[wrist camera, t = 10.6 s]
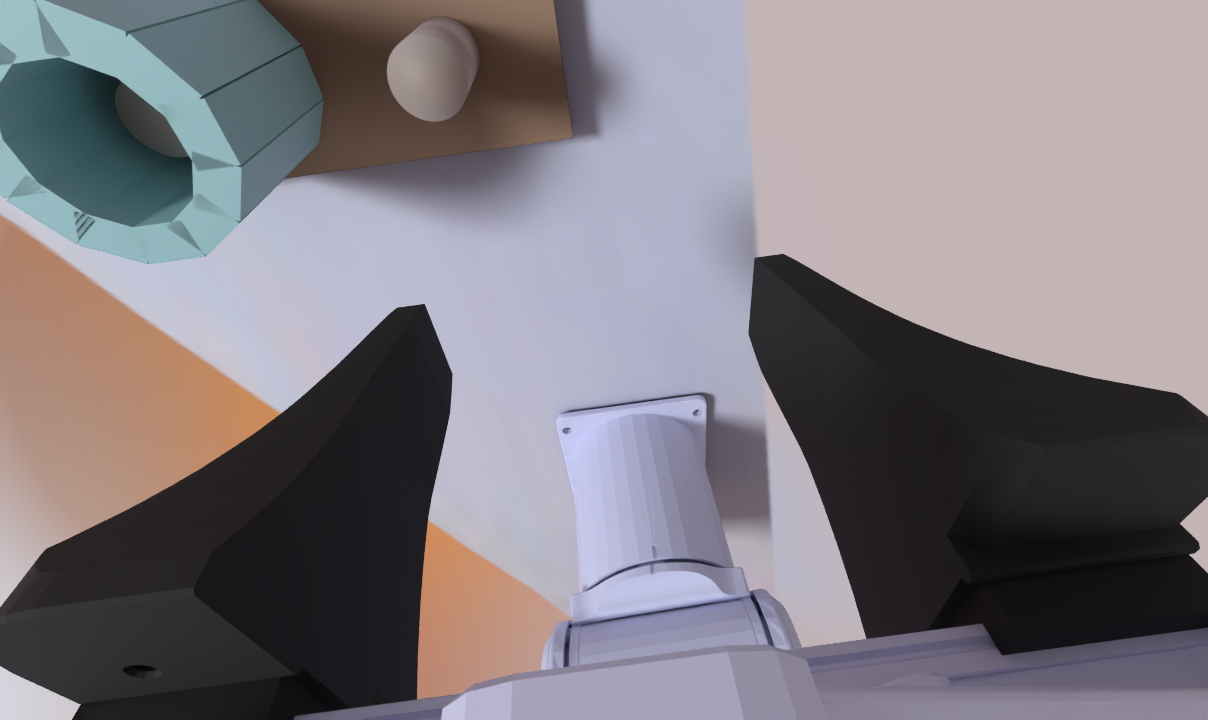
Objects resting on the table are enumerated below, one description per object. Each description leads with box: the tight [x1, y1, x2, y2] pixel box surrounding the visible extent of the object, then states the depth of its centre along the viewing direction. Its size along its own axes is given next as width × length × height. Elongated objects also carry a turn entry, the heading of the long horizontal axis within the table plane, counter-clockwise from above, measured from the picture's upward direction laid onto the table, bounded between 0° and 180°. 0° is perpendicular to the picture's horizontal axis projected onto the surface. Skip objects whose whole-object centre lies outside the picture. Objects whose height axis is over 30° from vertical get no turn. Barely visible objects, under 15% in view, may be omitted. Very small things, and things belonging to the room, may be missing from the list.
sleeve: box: [0, 0, 324, 264], centre depth 14 cm, size 6×6×6 cm
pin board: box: [115, 0, 573, 178], centre depth 16 cm, size 6×14×4 cm, turn 96°
